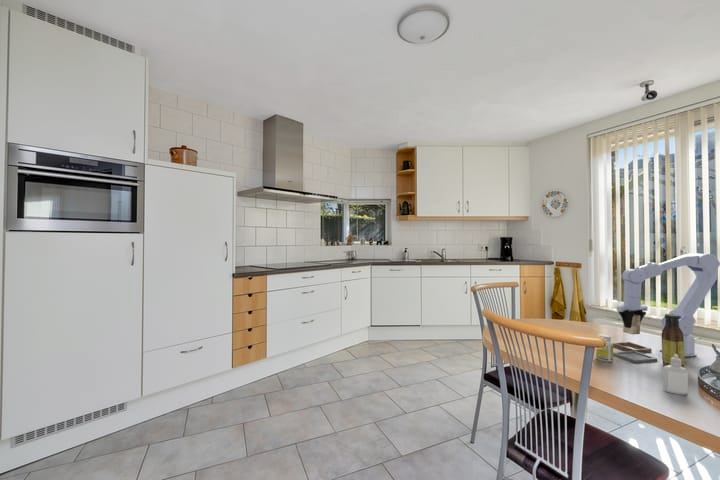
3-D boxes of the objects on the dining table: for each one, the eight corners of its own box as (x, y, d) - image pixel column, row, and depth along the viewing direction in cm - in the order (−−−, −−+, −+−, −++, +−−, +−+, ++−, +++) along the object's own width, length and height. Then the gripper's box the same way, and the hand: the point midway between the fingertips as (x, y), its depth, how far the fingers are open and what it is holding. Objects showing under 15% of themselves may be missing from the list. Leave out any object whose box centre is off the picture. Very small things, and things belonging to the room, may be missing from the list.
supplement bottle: (607, 357, 132) (607, 333, 132) (616, 362, 127) (616, 337, 127) (592, 356, 133) (593, 333, 133) (601, 361, 127) (601, 337, 127)
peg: (630, 331, 144) (630, 313, 144) (639, 334, 140) (640, 315, 140) (623, 331, 143) (623, 313, 143) (632, 334, 140) (632, 316, 140)
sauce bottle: (679, 365, 125) (681, 314, 125) (688, 371, 119) (689, 317, 119) (658, 362, 128) (659, 312, 128) (664, 367, 122) (666, 315, 122)
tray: (633, 353, 137) (633, 350, 137) (657, 361, 129) (657, 358, 129) (612, 355, 135) (612, 352, 135) (635, 363, 126) (635, 360, 126)
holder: (628, 344, 148) (628, 341, 148) (651, 352, 139) (651, 348, 139) (611, 346, 146) (611, 342, 146) (633, 353, 137) (633, 350, 137)
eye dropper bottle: (687, 397, 99) (688, 358, 99) (662, 391, 103) (663, 353, 103) (687, 392, 102) (688, 355, 102) (663, 387, 106) (664, 350, 106)
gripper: (636, 294, 147) (635, 324, 147) (610, 295, 144) (609, 325, 144) (652, 297, 140) (652, 328, 140) (626, 298, 137) (625, 329, 137)
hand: (631, 327), depth 142 cm, fingers closed on peg, 4 cm apart
